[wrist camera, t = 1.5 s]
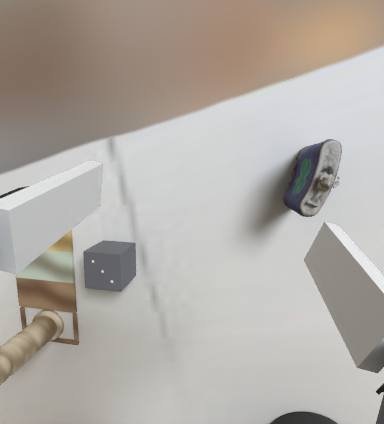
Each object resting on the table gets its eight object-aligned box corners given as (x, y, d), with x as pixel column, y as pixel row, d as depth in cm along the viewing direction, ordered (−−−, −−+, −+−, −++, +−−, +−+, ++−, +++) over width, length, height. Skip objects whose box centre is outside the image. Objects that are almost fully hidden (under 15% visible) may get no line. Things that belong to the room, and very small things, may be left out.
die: (136, 275, 43) (121, 291, 37) (104, 272, 44) (85, 287, 38) (135, 242, 42) (120, 254, 36) (103, 240, 42) (82, 251, 37)
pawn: (64, 338, 47) (0, 404, 34) (37, 335, 48) (-36, 397, 35) (62, 311, 46) (-5, 368, 33) (35, 307, 47) (-42, 362, 34)
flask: (300, 144, 35) (331, 134, 24) (321, 149, 35) (361, 141, 24) (279, 204, 37) (300, 218, 26) (298, 210, 37) (327, 226, 26)
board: (78, 343, 47) (77, 345, 46) (24, 335, 49) (22, 337, 48) (70, 219, 43) (69, 220, 42) (12, 215, 44) (9, 216, 44)
